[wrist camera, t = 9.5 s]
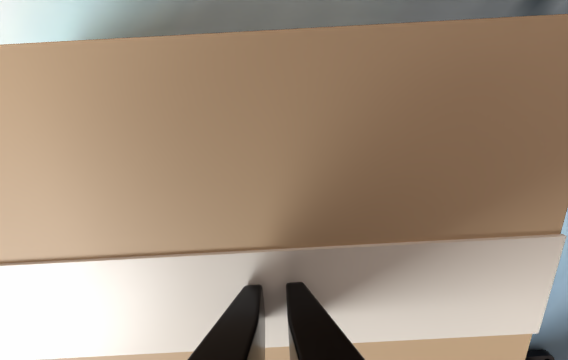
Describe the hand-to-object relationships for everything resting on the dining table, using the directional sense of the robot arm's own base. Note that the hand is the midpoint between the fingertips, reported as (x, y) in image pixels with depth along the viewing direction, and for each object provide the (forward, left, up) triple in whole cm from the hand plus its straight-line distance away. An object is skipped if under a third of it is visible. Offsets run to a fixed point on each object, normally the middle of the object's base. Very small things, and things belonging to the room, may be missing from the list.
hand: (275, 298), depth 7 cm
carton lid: (+1, 0, -1) cm, 1 cm away
